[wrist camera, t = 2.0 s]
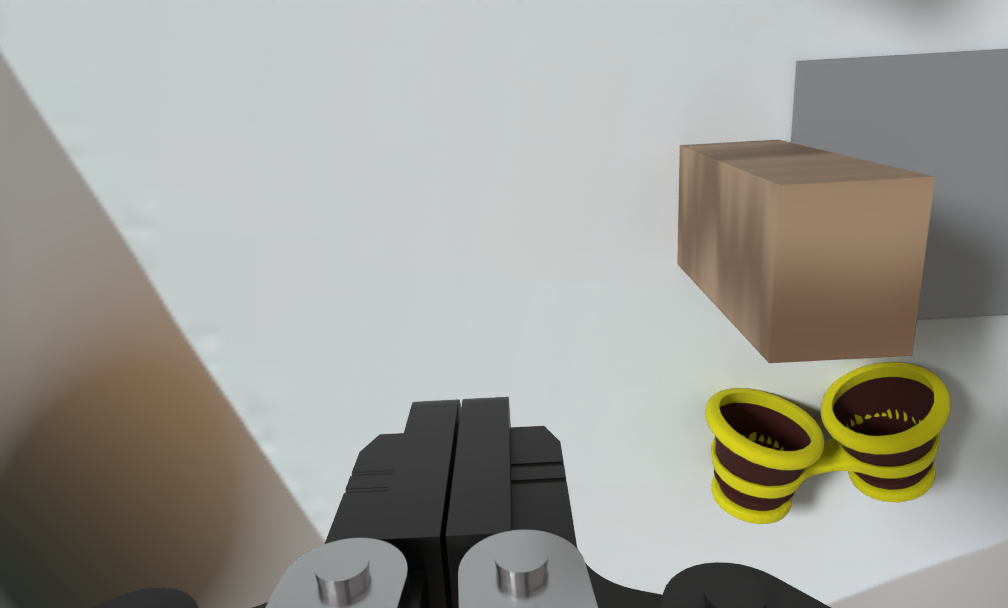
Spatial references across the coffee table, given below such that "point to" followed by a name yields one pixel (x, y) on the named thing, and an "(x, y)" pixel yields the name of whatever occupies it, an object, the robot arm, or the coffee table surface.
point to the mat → (927, 156)
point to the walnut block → (805, 247)
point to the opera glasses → (853, 446)
